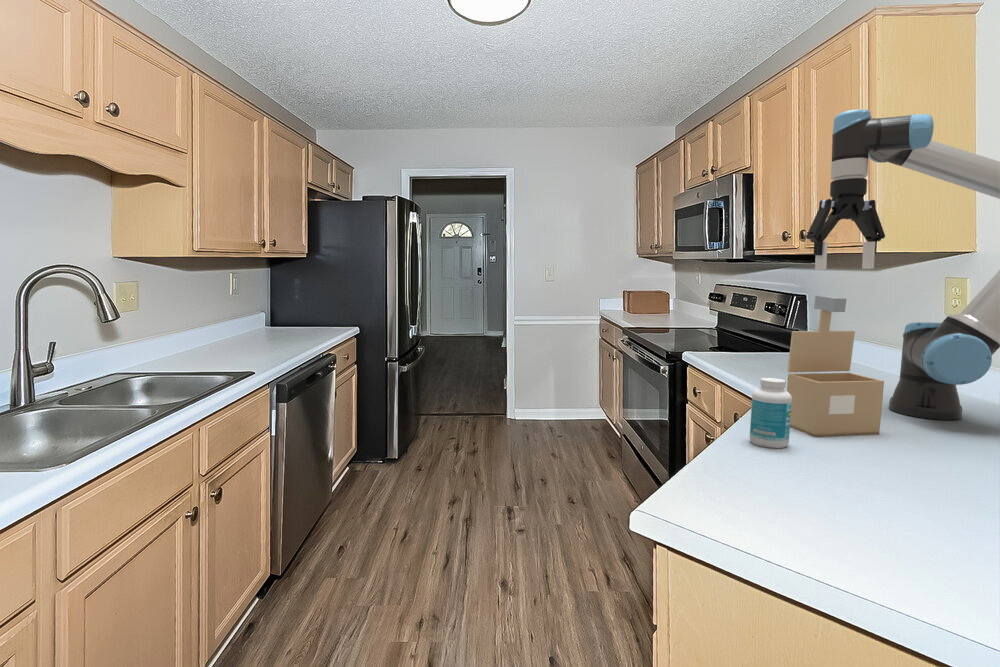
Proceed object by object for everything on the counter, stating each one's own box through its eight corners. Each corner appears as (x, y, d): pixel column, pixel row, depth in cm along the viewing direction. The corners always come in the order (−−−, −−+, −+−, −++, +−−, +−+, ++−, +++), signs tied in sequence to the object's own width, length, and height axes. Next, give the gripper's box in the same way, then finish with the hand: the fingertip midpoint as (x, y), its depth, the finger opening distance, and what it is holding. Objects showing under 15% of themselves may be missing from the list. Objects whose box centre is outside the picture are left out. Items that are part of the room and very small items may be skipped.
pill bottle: (793, 450, 115) (798, 384, 114) (753, 447, 117) (758, 382, 115) (782, 439, 123) (787, 377, 121) (745, 437, 124) (749, 375, 122)
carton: (845, 422, 137) (849, 372, 136) (879, 434, 127) (884, 381, 126) (784, 424, 135) (788, 373, 133) (814, 437, 125) (819, 382, 123)
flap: (861, 374, 132) (842, 368, 138) (871, 298, 129) (851, 295, 135) (799, 376, 129) (782, 369, 135) (808, 298, 126) (790, 295, 132)
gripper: (878, 182, 144) (874, 268, 146) (792, 180, 138) (788, 269, 140) (905, 178, 137) (900, 268, 139) (816, 175, 131) (812, 269, 133)
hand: (844, 269), depth 140 cm, fingers open, 13 cm apart
